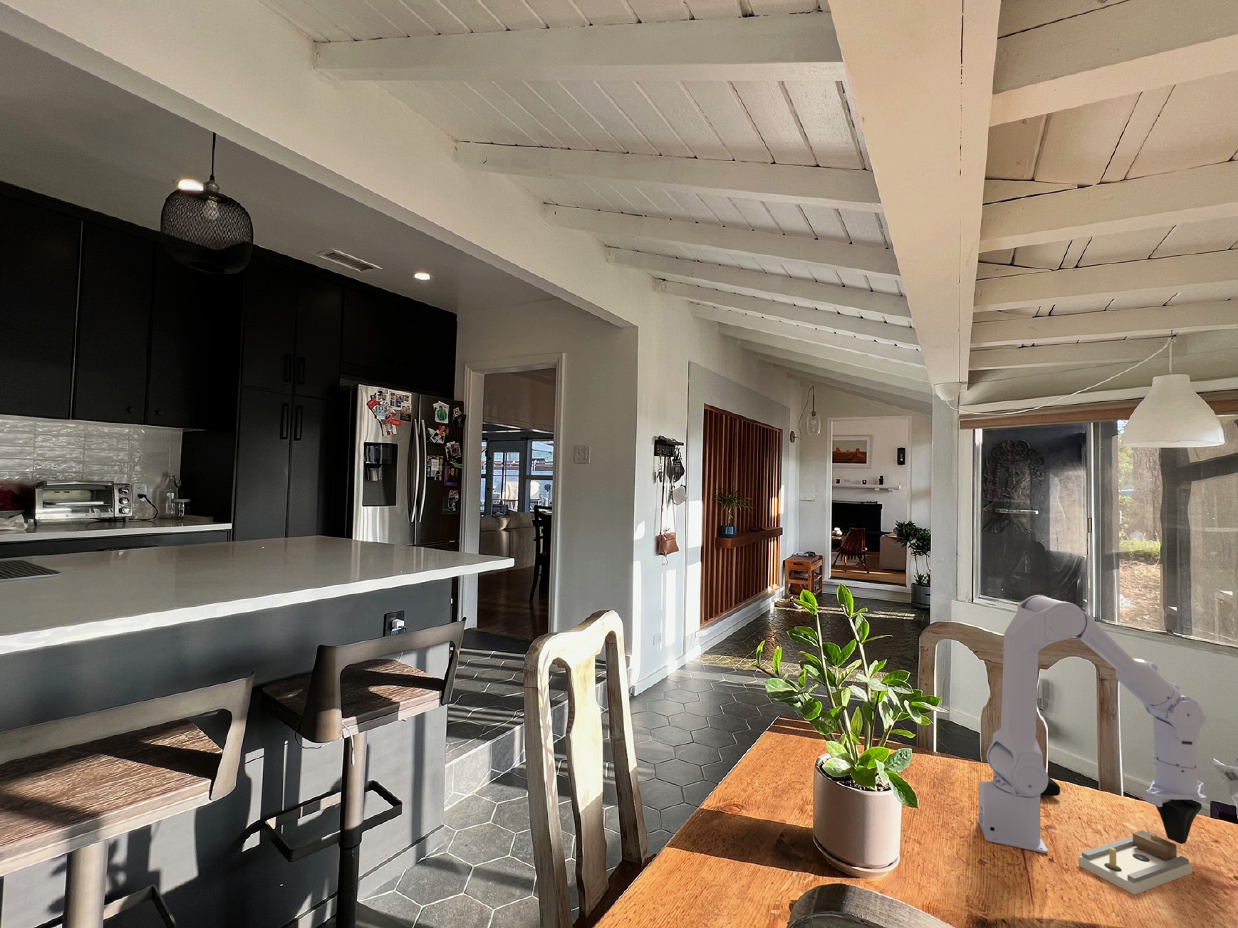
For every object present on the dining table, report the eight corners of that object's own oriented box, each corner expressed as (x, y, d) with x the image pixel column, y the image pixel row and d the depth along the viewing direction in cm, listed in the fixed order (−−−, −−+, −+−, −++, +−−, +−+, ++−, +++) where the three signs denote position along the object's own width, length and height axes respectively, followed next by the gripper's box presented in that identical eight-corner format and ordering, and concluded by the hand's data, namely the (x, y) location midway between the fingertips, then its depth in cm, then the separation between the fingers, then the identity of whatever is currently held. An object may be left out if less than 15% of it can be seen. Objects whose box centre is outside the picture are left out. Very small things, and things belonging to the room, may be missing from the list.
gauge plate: (1134, 894, 95) (1134, 865, 95) (1078, 865, 102) (1078, 838, 102) (1192, 872, 101) (1191, 845, 101) (1135, 846, 108) (1135, 821, 109)
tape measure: (1062, 801, 125) (1062, 783, 125) (1026, 798, 126) (1026, 779, 126) (1043, 786, 132) (1043, 768, 132) (1009, 783, 133) (1009, 765, 133)
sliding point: (1166, 860, 101) (1166, 844, 101) (1133, 844, 106) (1132, 830, 106) (1176, 856, 102) (1176, 841, 103) (1142, 841, 107) (1142, 827, 107)
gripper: (1180, 776, 101) (1182, 861, 100) (1226, 765, 107) (1227, 844, 106) (1131, 759, 108) (1132, 838, 107) (1176, 749, 113) (1177, 824, 112)
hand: (1176, 840), depth 107 cm, fingers closed
